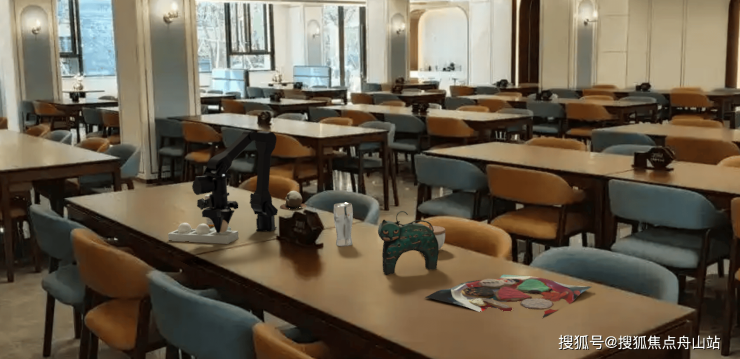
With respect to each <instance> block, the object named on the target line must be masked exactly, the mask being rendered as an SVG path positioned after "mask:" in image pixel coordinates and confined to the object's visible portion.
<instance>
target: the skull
mask: <svg viewBox="0 0 740 359" xmlns="http://www.w3.org/2000/svg"><path fill="white" fill-rule="evenodd" d="M284 199H285V202H284V203H283V204H281V205H279V207H280V209H283V210H289V208H290V209H292V210H295V209H296V208H297V209H300V208H299V207H305V208H307V205H306V204H305V203H302V202H303V197H302V195H301V193H300V192H298V191H297V190H291V191H289V192H288V193H287V194H286V197H285V198H284Z"/></svg>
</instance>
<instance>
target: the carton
mask: <svg viewBox="0 0 740 359" xmlns="http://www.w3.org/2000/svg"><path fill="white" fill-rule="evenodd" d="M210 229H211V227H210V226H208V225H207V223H199V224H198V225H197V226H196V228H192V226H191V224H190V223H188V222H181V223H180V224H179V225H178V226H177V229H175V230H173V231H170V232H169V233H167V236H168V237H167V238H168V240H172V241H171V242H185V241H189V242H188V243H190V242H191V243H204V244H205V243H206V244H207V243H209V244H224V245H225V244H226V245H228V244H230V243H232V242H234V241H236V240H238V239H239V230H231V231H226V232H224V233H217V232H216V230H210Z"/></svg>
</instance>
